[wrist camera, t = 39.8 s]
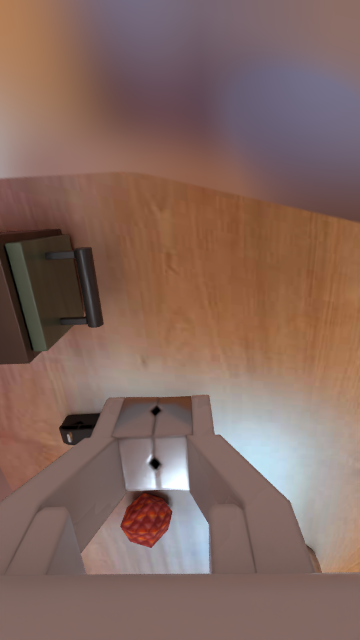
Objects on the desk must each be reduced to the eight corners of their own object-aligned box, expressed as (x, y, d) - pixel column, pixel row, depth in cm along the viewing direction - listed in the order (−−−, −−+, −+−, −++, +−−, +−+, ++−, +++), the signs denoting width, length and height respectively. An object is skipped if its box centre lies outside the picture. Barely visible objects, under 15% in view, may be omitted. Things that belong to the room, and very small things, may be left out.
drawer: (107, 232, 28) (73, 239, 19) (118, 314, 31) (93, 349, 23) (-50, 240, 28) (-146, 250, 20) (-23, 320, 31) (-97, 356, 23)
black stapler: (197, 407, 36) (198, 423, 33) (198, 422, 37) (199, 439, 34) (65, 414, 37) (55, 430, 34) (69, 429, 38) (60, 446, 35)
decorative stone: (161, 501, 46) (113, 513, 43) (171, 479, 43) (120, 490, 39) (173, 545, 41) (120, 563, 38) (185, 524, 38) (129, 542, 35)
